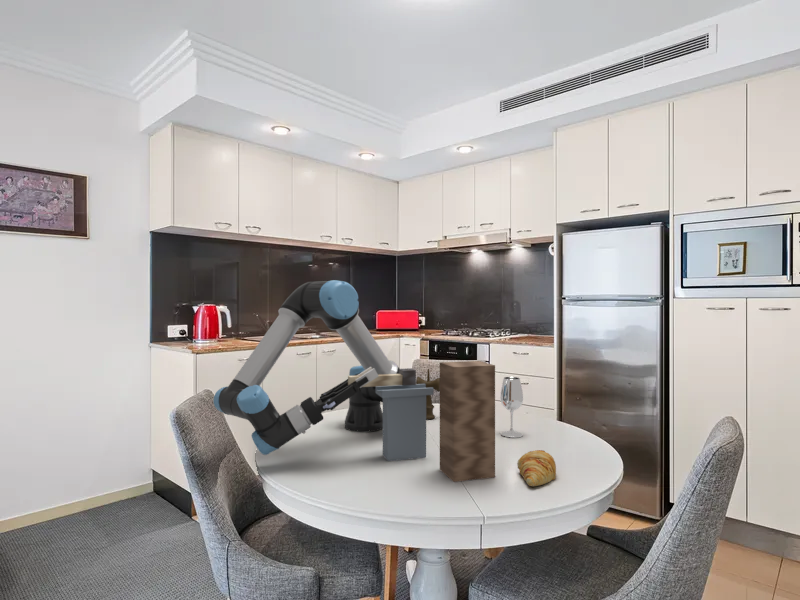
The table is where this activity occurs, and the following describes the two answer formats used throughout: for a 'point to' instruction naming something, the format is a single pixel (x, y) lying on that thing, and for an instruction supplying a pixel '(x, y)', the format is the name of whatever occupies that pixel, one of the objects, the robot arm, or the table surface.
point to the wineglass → (511, 401)
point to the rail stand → (404, 420)
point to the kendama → (429, 405)
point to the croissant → (537, 467)
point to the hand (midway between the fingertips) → (374, 371)
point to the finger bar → (390, 378)
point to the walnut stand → (467, 420)
